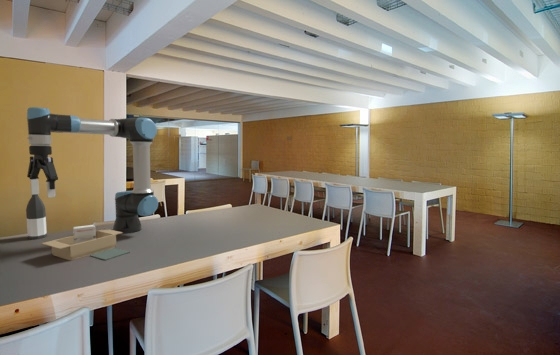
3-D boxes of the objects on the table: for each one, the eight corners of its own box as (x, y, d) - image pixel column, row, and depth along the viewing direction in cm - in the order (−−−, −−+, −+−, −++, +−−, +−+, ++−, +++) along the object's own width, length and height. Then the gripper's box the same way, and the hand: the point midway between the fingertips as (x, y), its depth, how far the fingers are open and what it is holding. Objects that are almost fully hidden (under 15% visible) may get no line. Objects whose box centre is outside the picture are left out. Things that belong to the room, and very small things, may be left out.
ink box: (95, 247, 155) (94, 223, 154) (96, 250, 151) (95, 226, 150) (73, 251, 149) (72, 226, 148) (75, 254, 145) (74, 228, 144)
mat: (114, 248, 154) (114, 247, 154) (129, 252, 149) (129, 251, 149) (90, 255, 143) (90, 255, 143) (105, 260, 138) (105, 259, 138)
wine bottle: (28, 240, 165) (24, 182, 162) (27, 236, 171) (24, 181, 168) (47, 237, 170) (44, 181, 167) (46, 234, 176) (43, 180, 173)
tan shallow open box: (105, 240, 166) (104, 228, 166) (123, 245, 159) (123, 232, 159) (42, 257, 141) (41, 243, 140) (61, 263, 134) (60, 248, 133)
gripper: (15, 144, 136) (18, 194, 138) (45, 145, 124) (48, 199, 126) (35, 145, 143) (38, 192, 145) (66, 145, 130) (68, 197, 133)
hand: (43, 195), depth 135 cm, fingers open, 13 cm apart
